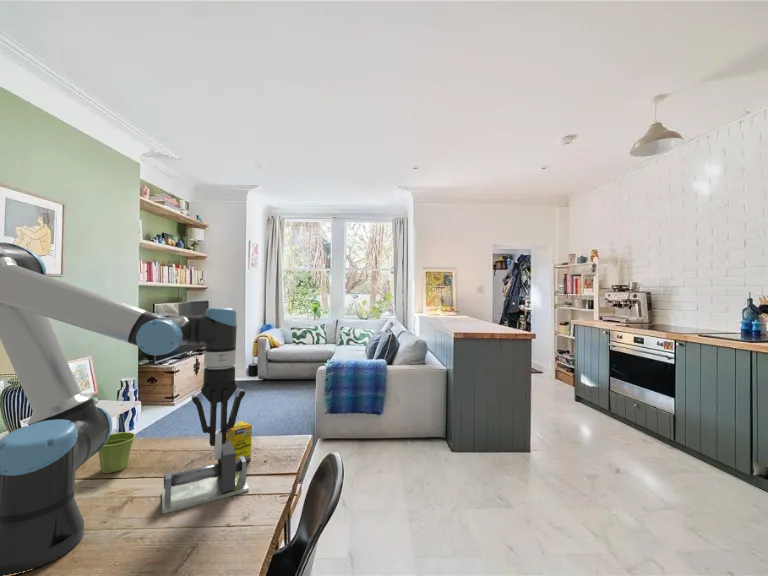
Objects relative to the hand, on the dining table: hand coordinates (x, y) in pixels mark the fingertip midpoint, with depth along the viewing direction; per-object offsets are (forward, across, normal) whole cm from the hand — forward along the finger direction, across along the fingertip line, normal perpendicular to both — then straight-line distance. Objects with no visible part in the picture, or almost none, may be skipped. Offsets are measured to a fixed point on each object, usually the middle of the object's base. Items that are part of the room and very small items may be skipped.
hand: (217, 456), depth 92 cm
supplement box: (+9, +8, +14) cm, 18 cm away
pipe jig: (+8, -2, 0) cm, 9 cm away
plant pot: (+9, -24, +27) cm, 37 cm away
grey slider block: (+7, +2, 0) cm, 8 cm away
